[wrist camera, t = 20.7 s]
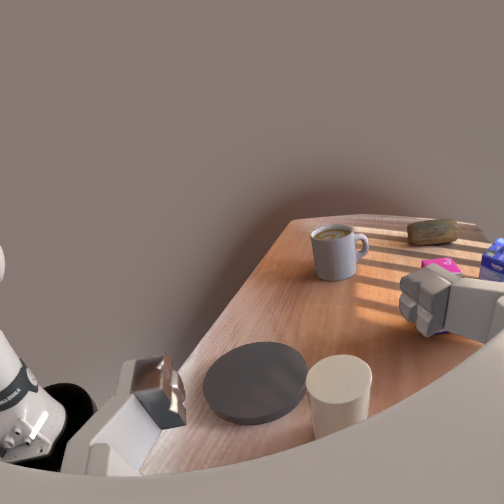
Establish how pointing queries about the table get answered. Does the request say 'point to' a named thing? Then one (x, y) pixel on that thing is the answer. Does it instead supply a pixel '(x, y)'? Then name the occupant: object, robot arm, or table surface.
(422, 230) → the stone weight
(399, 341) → the table surface
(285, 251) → the table surface
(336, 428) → the cream canister
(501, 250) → the ink cartridge box
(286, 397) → the slate plate
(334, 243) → the coffee mug
